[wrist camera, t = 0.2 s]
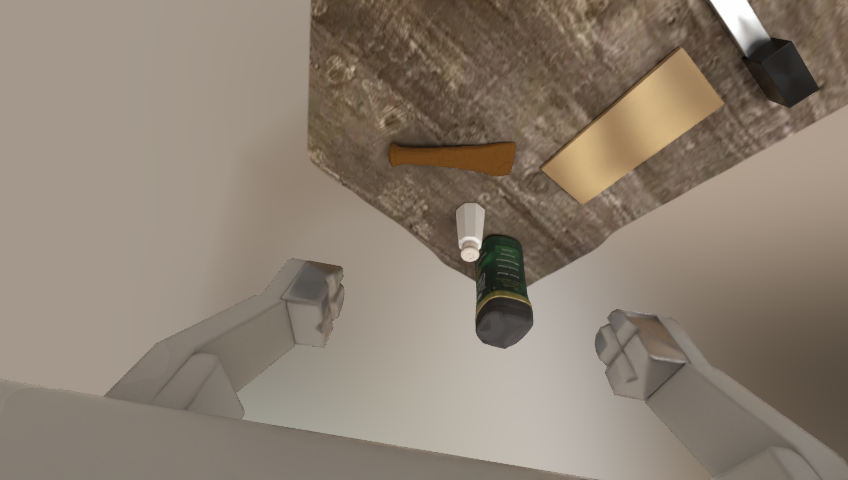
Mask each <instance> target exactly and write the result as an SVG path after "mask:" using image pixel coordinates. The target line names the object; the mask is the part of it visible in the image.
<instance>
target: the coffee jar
mask: <svg viewBox="0 0 848 480" xmlns="http://www.w3.org/2000/svg"><path fill="white" fill-rule="evenodd" d="M475 270H476V288H477V290H476V291H477V303H476V318H475V321H476V334H477V336H478V338H479V339H480V340H481V341H482V342H483V343H485V344H488V345H491V346H495V347H499V348H504V349H506V348H507V347H509V346H512V345H514V344H516V343H517V342H519V341H520V340H521V339H522V338H523V337H524V336H525V335H526V334H527V333H528V331H529V330H530V329H531V327H532V326H533V311H532V306H531V303H530V301H529V299H528V295H527V288H526V280H525V272H524V261H523V251H522V246H521V244H520V243H519V242H518V241H516V240H514V239H511V238H508V237H505V236H492V237H489V238H488V239H486V240H485V242H484V243H483V244H482V246H481V248H480V249H479V258H478V259H477V260H475Z"/></svg>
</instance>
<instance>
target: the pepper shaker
mask: <svg viewBox="0 0 848 480" xmlns="http://www.w3.org/2000/svg"><path fill="white" fill-rule="evenodd" d="M484 215H485V210H484V209H483V208H482V207H481V206H479V205H478V204H477V203H464V204H463V205H462V206H460V207H459V208H458V209H457V210H456V221H457V231H458V241H459V248H460V249H461V257H462V259H464V260H465V261H468V262H472V261H475V260H477V259H478V258H479V249H480V248H481V244H482V235H483V227H484Z"/></svg>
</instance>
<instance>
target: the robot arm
mask: <svg viewBox="0 0 848 480" xmlns="http://www.w3.org/2000/svg"><path fill="white" fill-rule="evenodd" d="M342 278H343V268H342V267H341V266H336V265H330V264H325V263H319V262H314V261H306V260H300V259H295V258H292V259H290V260H288V261H287V262H286V263H285V265H284V266H283V267H282V268H281V270H280V271H279V272H278V274H277V275H276V276H275V277H274V279H273V280H272V281H271V283H270V284H269V285H268V286H267V288H266V289H265V291H264V292H263V293H262V294H261V295H260V296H257V295H254V296H252V297H250V298H248V299H246V300H244V301H242V302H240V303H238V304H236V305H234V306H232V307H230V308H228V309H226V310H224V311H221V312H219V313H217V314H215V315H213V316H211V317H209V318H207V319H205V320H203V321H201V322H199V323H197V324H195V325H193V326H191V327H189V328H187V329H185V330H183V331H181V332H178V333H176V334H175V335H172V336H170V337H168V338H166V339H164V340H162V341H160V342H158V343H156V344H155V345H154V346H153V347H152V348H151V349H150V350H149V351H148V352H147V353H146V354H145V355H144V356H143V357H142V358H141V359H140V360H139V361H138V362H137V363H136V364H135V365H134V366H133V367H132V368H131V369H130V370H129V371H128V372H127V373H126V374H125V375H124V376H123V377H122V378H121V379H120V380H119V381H118V382H117V383H116V384H115V385H114V386H113V387H112V388H111V390H109V391H108V392H107V393H106V395H104V396H98V395H92V394H86V393H80V392H74V391H69V390H62V389H56V388H51V387H45V386H39V385H32V384H27V383H21V382H15V381H9V380H3V379H0V480H598V479H591V478H585V477H580V476H574V475H568V474H562V473H556V472H550V471H544V470H538V469H532V468H526V467H521V466H515V465H509V464H503V463H497V462H490V461H485V460H479V459H473V458H467V457H461V456H455V455H449V454H444V453H438V452H432V451H426V450H420V449H413V448H408V447H402V446H396V445H390V444H384V443H378V442H372V441H366V440H360V439H354V438H348V437H342V436H336V435H330V434H325V433H319V432H313V431H306V430H301V429H295V428H289V427H283V426H276V425H271V424H265V423H259V422H253V421H247V420H242V418H243V416H244V414H245V413H244V409H243V406H242V404H241V402H240V400H239V398H238V396H237V394H236V393H237V392H238V391H239V390H241V389H242V388H243V387H244V386H245V385H247V384H248V383H249V382H250V381H252V380H253V379H254V378H255V377H257V376H258V375H259V374H261V373H262V372H263V371H264V370H266V369H267V368H268V367H269V366H271V365H272V364H273V363H274V362H276V361H277V360H278V359H279V358H280V357H282V356H283V355H284V354H285V353H287V352H288V351H289V350H290V349H292V348H293V347H294V346H295V344H298V345H306V346H313V347H321V348H324V347H325V345H326V343H327V341H328V339H329V336H330V334H331V332H332V329H333V326H332V321H333V320H334V319H336V318H337V317H338V316H339V314H340V311H341V308H342V305H343V300H344V287H343V285H342V284H341V283H340V282H341V280H342ZM608 321H609V324H607V325H605V326H603V327H601V328H600V329H599V331H598V333H597V334H596V338H595V348H596V352H597V355H598V357H599V359H600V360H601V361H602V362H603V363H604V364H605V365H606V366H607V369H606V371H605V374H606V376H607V378H608V381H609V383H610V385H611V388H612V390H613V393H614V395H618V396H623V397H628V398H633V399H639V400H644V401H646V402H645V403H646V404H647V405H648V406H649V407H650V408H651V410H652V411H653V412H654V413H655V414H656V415H657V416H658V417H659V418H660V419H661V421H662V422H663V423H664V424H665V425H666V426H667V427H668V428H669V429H670V430H671V432H673V434H674V435H675V436H676V437H677V438H678V439H679V440H680V441H681V443H682V444H684V446H685V447H686V448H687V449H688V450H689V451H690V452H691V454H692V455H693V456H694V457H695V458H696V459H697V460H698V461H699V462H700V463H701V465H702V466H703V467H704V468H705V469H706V470H707V471H708V472H709V473H710V474H711V475H712V477H713V478H711V479H709V480H848V464H847V463H846V462H845V461H844V460H843V459H842V458H841V456H839V455H838V454H837V453H835V452H834V451H832V450H831V449H830V448H828V447H827V446H826V445H824V444H823V443H821V442H820V441H819V440H817V439H816V438H814V437H813V436H811V435H810V434H809V433H807V432H806V431H805V430H803V429H801V428H800V427H799V426H798V425H796V424H794V423H793V422H792V421H791V420H789V419H788V418H786V417H785V416H784V415H782V414H781V413H779V412H778V411H777V410H775V409H774V408H772V407H771V406H770V405H768V404H767V403H765V402H764V401H762V400H761V399H760V398H758V397H757V396H755V395H754V394H753V393H751V392H750V391H748V390H747V389H746V388H744V387H743V386H741V385H740V384H739V383H737V382H736V381H734V380H733V379H732V378H730V377H729V376H728V375H726V374H725V373H723V372H722V371H721V370H719V369H717V368H712V367H711V366H710V364H709V363H708V362H707V360H706V359H705V358H704V357H703V355H702V354H701V352H700V351H699V350H698V348H697V347H696V346H695V344H694V343H693V342H692V340H691V339H690V338H689V337H688V335H687V334H686V333H685V331H684V330H683V329H682V327H681V326H680V325H679V323H678V322H677V321H676V320H674V319H673V318H672V317H668V316H660V315H654V314H645V313H639V312H632V311H625V310H618V309H617V310H615V311H612V312H611V314H610V315H609V316H608Z"/></svg>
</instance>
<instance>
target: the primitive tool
mask: <svg viewBox="0 0 848 480" xmlns="http://www.w3.org/2000/svg"><path fill="white" fill-rule="evenodd" d="M515 149H516V144H515V143H508V142H505V143H504V142H502V143H494V144H486V145H479V146H462V147H436V148H421V147H420V148H413V147H411V148H408V147H399V146H398V145H396V144H394V143H392V144H391V146H390V149H389V152H388V156H389V161H390V163H391V165H392V167H396V166H397V165H400V164H410V165H432V166H439V167H440V166H441V167H451V168H460V169H466V170H471V171H478V172H484V173H489V174H490V175H491V176H504V175H508V174H510V173H511V169H512V166H513V161H514V156H515Z"/></svg>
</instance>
